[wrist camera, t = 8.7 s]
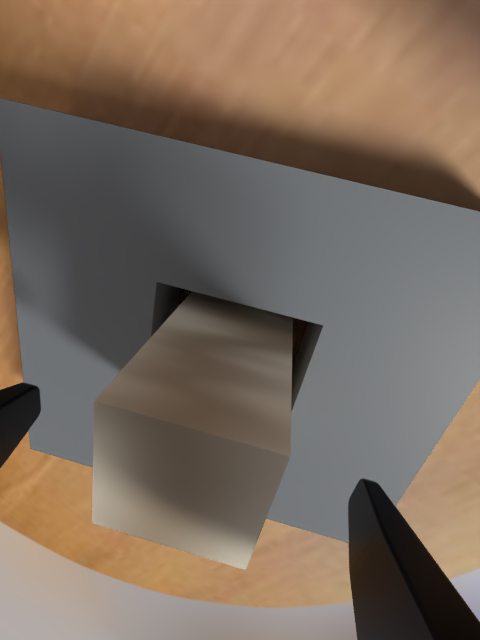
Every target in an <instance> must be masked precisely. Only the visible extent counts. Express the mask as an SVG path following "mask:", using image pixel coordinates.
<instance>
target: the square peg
mask: <svg viewBox="0 0 480 640" xmlns="http://www.w3.org/2000/svg"><path fill="white" fill-rule="evenodd" d="M292 339H293V317H289V316H285V315H281V314H278V313H274V312H270V311H266V310H262V309H258V308H255V307H251V306H247V305H243V304H239V303H235V302H232V301H228V300H224V299H220V298H216V297H212V296H209V295H205V294H201V293H197V292H193V291H192V292H191V293H190V294H189V295H188V296H187V298H186V299H185V300H184V301H183V302H182V303H181V304H180V305H179V306H178V308H177V309H176V310H175V311H174V312H173V313H172V314H171V315H170V317H169V318H168V319H167V320H166V321H165V322H164V323H163V324H162V325H161V327H160V328H159V329H158V330H157V331H156V332H155V333H154V334H153V336H152V337H151V338H150V339H149V340H148V341H147V342H146V343H145V344H144V346H143V347H142V348H141V349H140V350H139V351H138V352H137V353H136V355H135V356H134V357H133V358H132V359H131V360H130V361H129V362H128V363H127V365H126V366H125V367H124V368H123V369H122V370H121V371H120V372H119V374H118V375H117V376H116V377H115V378H114V379H113V380H112V381H111V382H110V384H109V385H108V386H107V387H106V388H105V389H104V390H103V391H102V393H101V394H100V395H99V396H98V397H97V398H96V399H95V400H94V436H93V496H92V523H93V524H96V525H99V526H102V527H106V528H109V529H112V530H116V531H119V532H122V533H125V534H129V535H132V536H135V537H139V538H142V539H145V540H148V541H152V542H155V543H158V544H161V545H165V546H168V547H171V548H175V549H178V550H181V551H184V552H188V553H191V554H194V555H198V556H201V557H204V558H207V559H211V560H214V561H217V562H221V563H224V564H227V565H230V566H234V567H237V568H240V569H244V570H246V568H247V565H248V563H249V560H250V558H251V555H252V553H253V550H254V548H255V545H256V543H257V540H258V538H259V535H260V532H261V530H262V527H263V525H264V522H265V520H266V517H267V515H268V512H269V510H270V507H271V505H272V502H273V500H274V497H275V494H276V492H277V489H278V487H279V484H280V482H281V479H282V477H283V474H284V472H285V469H286V467H287V464H288V462H289V459H290V456H291V398H292Z"/></svg>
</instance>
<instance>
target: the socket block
mask: <svg viewBox="0 0 480 640" xmlns="http://www.w3.org/2000/svg"><path fill="white" fill-rule="evenodd" d="M0 154H1V164H2V174H3V183H4V193H5V203H6V213H7V223H8V233H9V243H10V252H11V262H12V272H13V282H14V292H15V302H16V312H17V322H18V331H19V341H20V351H21V361H22V371H23V381H24V383H28V384H32V385H35V386H38V388H39V389H40V399H41V412H40V415H39V416H38V418H37V419H36V421H35V422H34V424H33V425H32V426H31V428H30V429H29V440H30V449H33V450H36V451H39V452H43V453H46V454H50V455H53V456H56V457H60V458H63V459H66V460H70V461H73V462H77V463H80V464H83V465H87V466H90V467H93V436H94V400H95V399H96V398H97V397H98V396H99V395H100V394H101V393H102V391H103V390H104V389H105V388H106V387H107V386H108V385H109V384H110V382H111V381H112V380H113V379H114V378H115V377H116V376H117V375H118V374H119V372H120V371H121V370H122V369H123V368H124V367H125V366H126V365H127V363H128V362H129V361H130V360H131V359H132V358H133V357H134V356H135V355H136V353H137V352H138V351H139V350H140V349H141V348H142V347H143V346H144V344H145V343H146V342H147V341H148V340H149V339H150V338H151V337H152V336H153V334H154V333H155V332H156V331H157V330H158V329H159V328H160V327H161V325H162V324H163V323H164V322H165V321H166V320H167V319H168V318H169V317H170V315H171V314H172V313H173V312H174V311H175V310H176V309H177V308H178V305H179V298H180V291H181V288H182V289H186V290H189V291H193V292H197V293H201V294H205V295H209V296H212V297H216V298H220V299H224V300H228V301H232V302H235V303H239V304H243V305H247V306H251V307H255V308H258V309H262V310H266V311H270V312H274V313H278V314H281V315H285V316H289V317H293V318H297V319H301V320H304V321H308V324H307V327H306V329H305V332H304V335H303V338H302V341H301V344H300V347H299V350H298V353H297V356H296V359H295V362H294V365H293V367H292V398H291V456H290V459H289V462H288V464H287V467H286V469H285V472H284V474H283V477H282V479H281V482H280V484H279V487H278V489H277V492H276V494H275V497H274V500H273V502H272V505H271V507H270V510H269V512H268V515H267V517H266V519H270V520H273V521H276V522H280V523H283V524H286V525H290V526H293V527H297V528H300V529H303V530H307V531H310V532H314V533H317V534H320V535H324V536H327V537H330V538H334V539H337V540H341V541H344V542H347V543H349V531H348V502H349V498H350V496H351V494H352V492H353V491H354V489H355V487H356V485H357V483H358V481H359V480H360V479H362V478H365V479H368V480H372V481H375V482H377V483H378V484H379V485H380V486H381V487H382V489H383V490H384V492H385V493H386V494H387V496H388V497H389V498H390V500H391V501H392V502H393V504H394V505H395V506H396V505H397V503H398V502H399V500H400V499H401V497H402V496H403V494H404V493H405V491H406V490H407V488H408V487H409V485H410V484H411V482H412V481H413V479H414V478H415V476H416V475H417V473H418V471H419V470H420V468H421V467H422V465H423V464H424V462H425V461H426V459H427V458H428V456H429V455H430V453H431V452H432V450H433V449H434V447H435V446H436V444H437V443H438V441H439V440H440V438H441V437H442V435H443V434H444V432H445V431H446V429H447V428H448V426H449V425H450V423H451V422H452V420H453V419H454V417H455V416H456V414H457V413H458V411H459V410H460V408H461V407H462V405H463V404H464V402H465V401H466V399H467V398H468V396H469V395H470V393H471V391H472V390H473V388H474V387H475V385H476V384H477V382H478V381H479V379H480V211H475V210H471V209H467V208H463V207H458V206H454V205H450V204H446V203H442V202H437V201H433V200H429V199H425V198H420V197H416V196H412V195H408V194H404V193H399V192H395V191H391V190H387V189H382V188H378V187H374V186H370V185H365V184H361V183H357V182H353V181H349V180H344V179H340V178H336V177H332V176H327V175H323V174H319V173H315V172H310V171H306V170H302V169H298V168H294V167H289V166H285V165H281V164H277V163H272V162H268V161H264V160H260V159H256V158H251V157H247V156H243V155H239V154H234V153H230V152H226V151H222V150H217V149H213V148H209V147H205V146H201V145H196V144H192V143H188V142H184V141H179V140H175V139H171V138H167V137H162V136H158V135H154V134H150V133H146V132H141V131H137V130H133V129H129V128H124V127H120V126H116V125H112V124H108V123H103V122H99V121H95V120H91V119H86V118H82V117H78V116H74V115H69V114H65V113H61V112H57V111H53V110H48V109H44V108H40V107H36V106H31V105H27V104H23V103H19V102H14V101H10V100H6V99H2V98H0Z"/></svg>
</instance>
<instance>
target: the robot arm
mask: <svg viewBox="0 0 480 640" xmlns="http://www.w3.org/2000/svg"><path fill="white" fill-rule="evenodd" d="M40 412H41V399H40V389H39V388H38V386H35V385H32V384H28V383H20V384H17V385H14V386H11V387H8V388H5V389H2V390H0V468H1V467H2V465H3V464H4V463H5V461H6V460H7V459H8V458H9V456H10V455H11V453H12V452H13V451H14V449H15V448H16V447H17V445H18V444H19V443H20V441H21V440H22V439H23V437H24V436H25V434H26V433H27V432H28V430H29V429H30V428H31V426H32V425H33V424H34V422H35V421H36V419H37V418H38V416H39V415H40ZM348 531H349V570H350V581H351V590H352V598H353V607H354V615H355V623H356V632H357V640H480V622H479V620H478V619H477V618H476V616H475V615H474V613H473V612H472V611H471V609H470V608H469V607H468V605H467V604H466V602H465V601H464V600H463V598H462V597H461V596H460V594H459V593H458V592H457V590H456V589H455V588H454V586H453V585H452V583H451V582H450V581H449V579H448V578H447V576H446V575H445V574H444V572H443V571H442V570H441V568H440V567H439V565H438V564H437V563H436V561H435V560H434V559H433V557H432V556H431V555H430V553H429V552H428V550H427V549H426V548H425V546H424V545H423V544H422V542H421V541H420V539H419V538H418V537H417V535H416V534H415V533H414V531H413V530H412V529H411V527H410V526H409V524H408V523H407V522H406V520H405V519H404V518H403V516H402V515H401V513H400V512H399V511H398V509H397V508H396V507H395V505H394V504H393V502H392V501H391V500H390V498H389V497H388V496H387V494H386V493H385V492H384V490H383V489H382V487H381V486H380V485H379V484H378V483H377V482H375V481H372V480H368V479H365V478H362V479H360V480H359V481H358V483H357V485H356V487H355V489H354V491H353V492H352V494H351V496H350V498H349V502H348Z"/></svg>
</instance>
